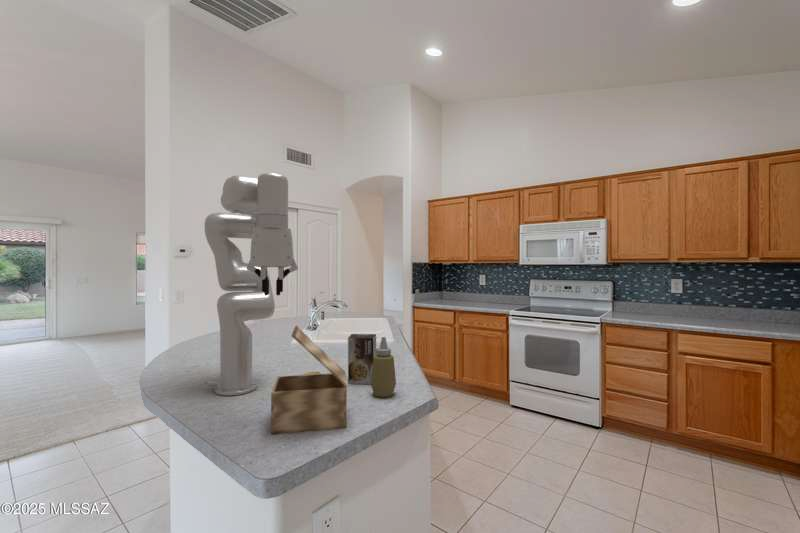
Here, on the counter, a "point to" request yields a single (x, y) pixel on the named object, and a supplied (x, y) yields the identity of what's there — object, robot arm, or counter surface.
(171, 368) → the counter surface
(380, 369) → the squeeze bottle
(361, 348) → the grey upright box
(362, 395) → the counter surface
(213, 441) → the counter surface
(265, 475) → the counter surface
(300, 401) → the carton
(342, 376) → the carton flap
